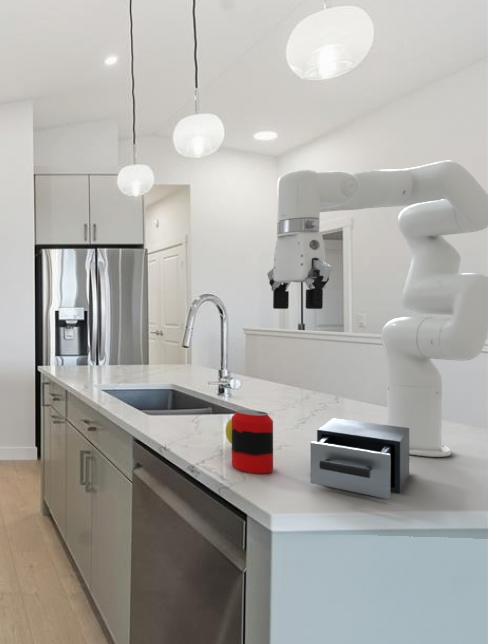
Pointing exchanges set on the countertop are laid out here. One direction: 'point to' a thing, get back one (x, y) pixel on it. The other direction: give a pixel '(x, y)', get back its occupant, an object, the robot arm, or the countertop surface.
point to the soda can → (252, 442)
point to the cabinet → (375, 434)
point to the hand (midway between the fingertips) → (296, 308)
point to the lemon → (229, 431)
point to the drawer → (353, 465)
